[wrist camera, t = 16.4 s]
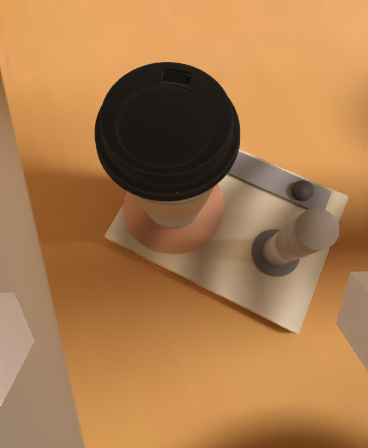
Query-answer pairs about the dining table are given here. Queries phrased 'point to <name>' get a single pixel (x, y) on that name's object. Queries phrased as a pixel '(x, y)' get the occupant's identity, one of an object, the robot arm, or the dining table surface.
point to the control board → (246, 239)
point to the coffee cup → (167, 139)
